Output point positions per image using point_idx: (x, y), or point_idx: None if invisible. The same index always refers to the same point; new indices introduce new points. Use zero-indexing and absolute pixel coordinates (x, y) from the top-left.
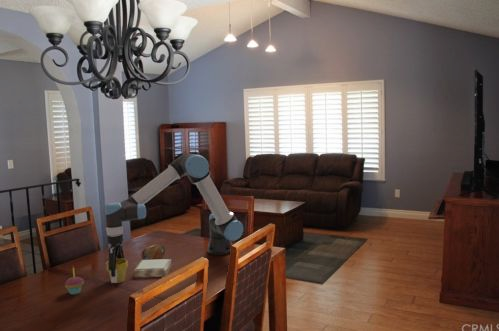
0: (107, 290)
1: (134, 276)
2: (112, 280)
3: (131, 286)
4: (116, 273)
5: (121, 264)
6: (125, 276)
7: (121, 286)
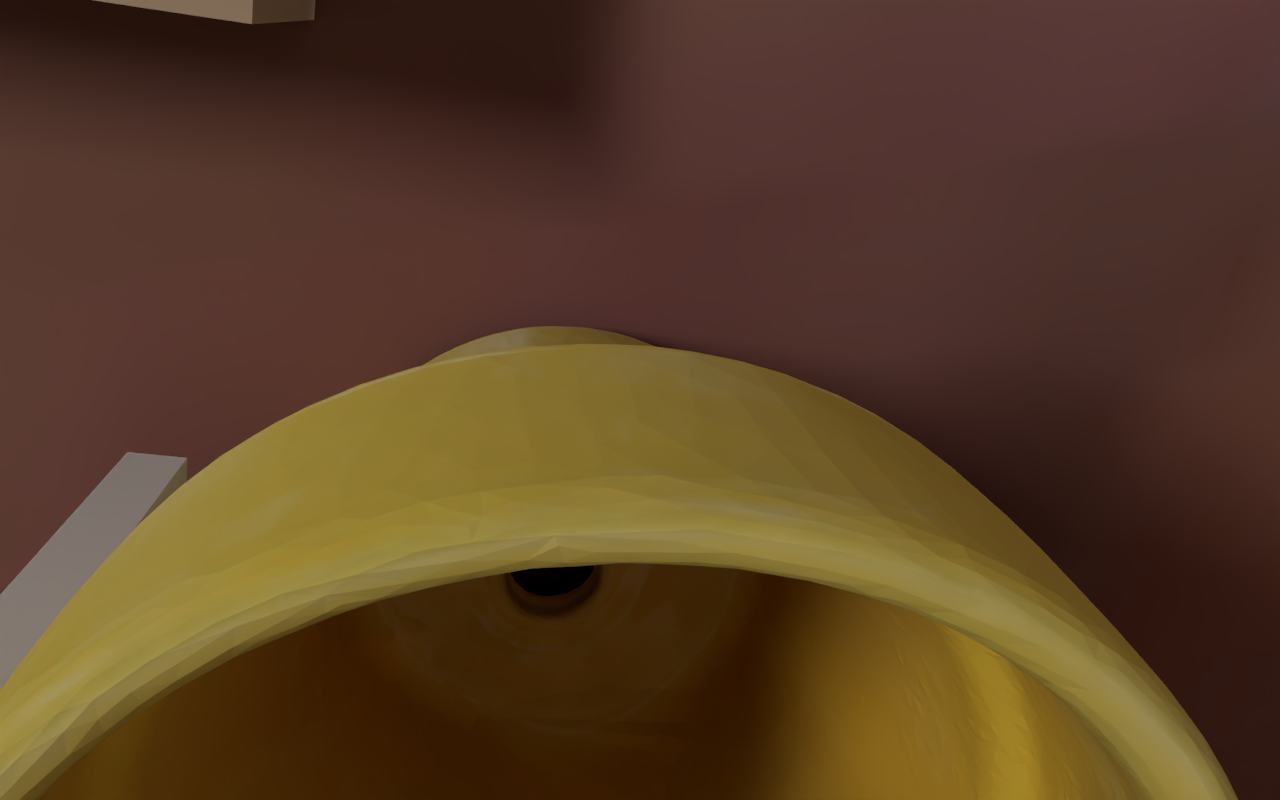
0: (1234, 670)
1: (312, 6)
2: None
3: (1201, 14)
4: None
5: (1214, 757)
6: (559, 338)
7: (1079, 348)
